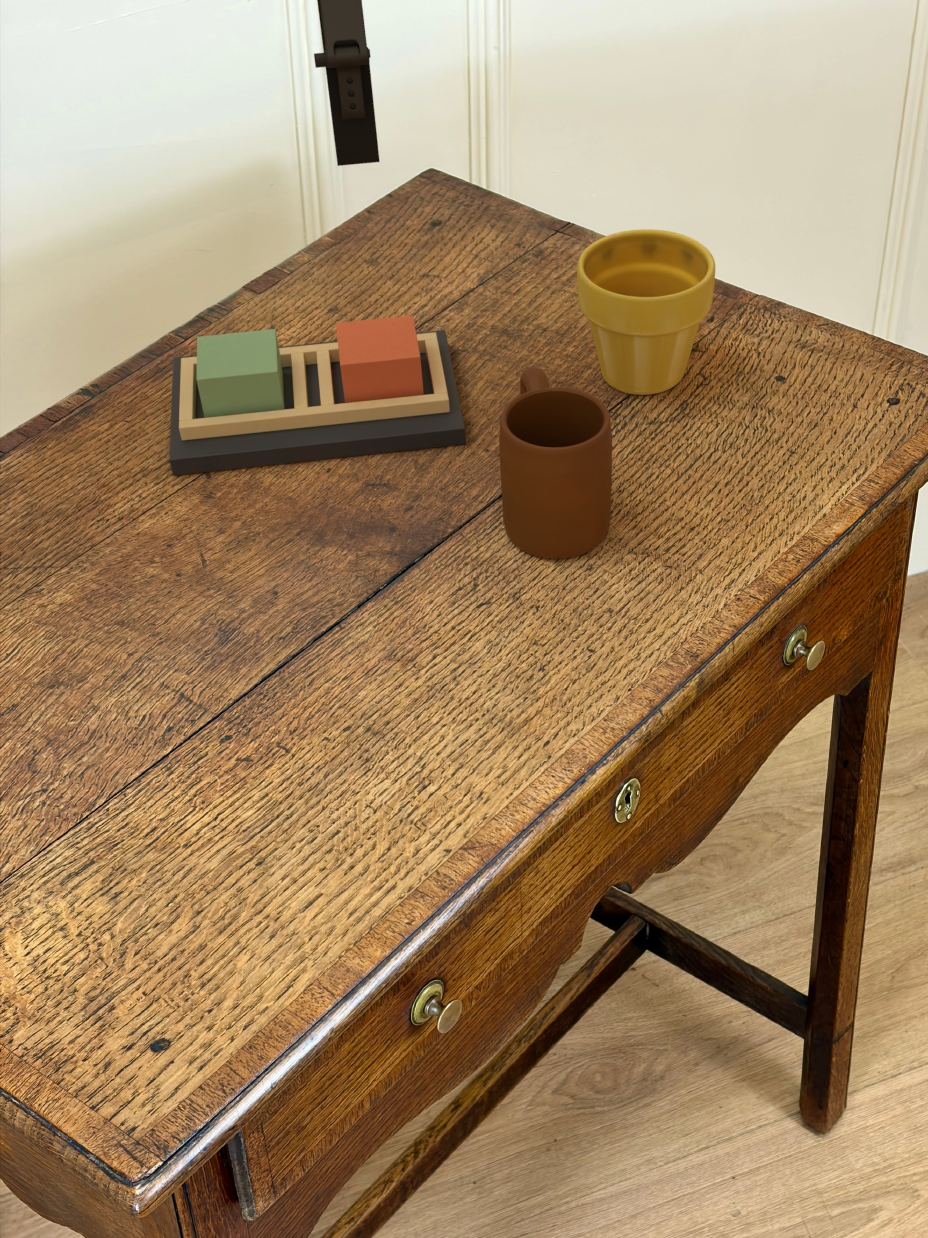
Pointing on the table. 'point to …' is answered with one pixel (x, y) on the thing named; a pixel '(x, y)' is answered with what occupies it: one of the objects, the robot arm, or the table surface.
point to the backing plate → (315, 415)
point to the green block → (240, 373)
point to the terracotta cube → (379, 359)
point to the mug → (555, 468)
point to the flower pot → (645, 305)
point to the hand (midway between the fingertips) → (351, 117)
